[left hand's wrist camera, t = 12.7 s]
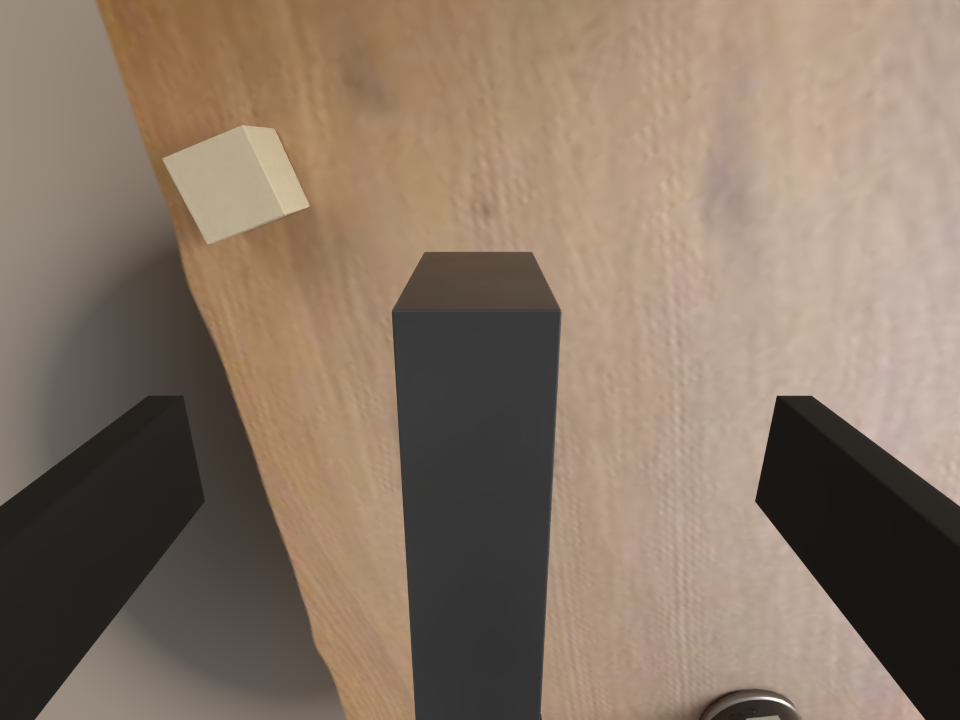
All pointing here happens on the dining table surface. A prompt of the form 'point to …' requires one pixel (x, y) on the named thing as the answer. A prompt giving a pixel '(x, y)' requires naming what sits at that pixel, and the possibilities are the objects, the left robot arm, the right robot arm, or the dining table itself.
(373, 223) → the dining table surface
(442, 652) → the plank
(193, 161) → the cream block
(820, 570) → the left robot arm
